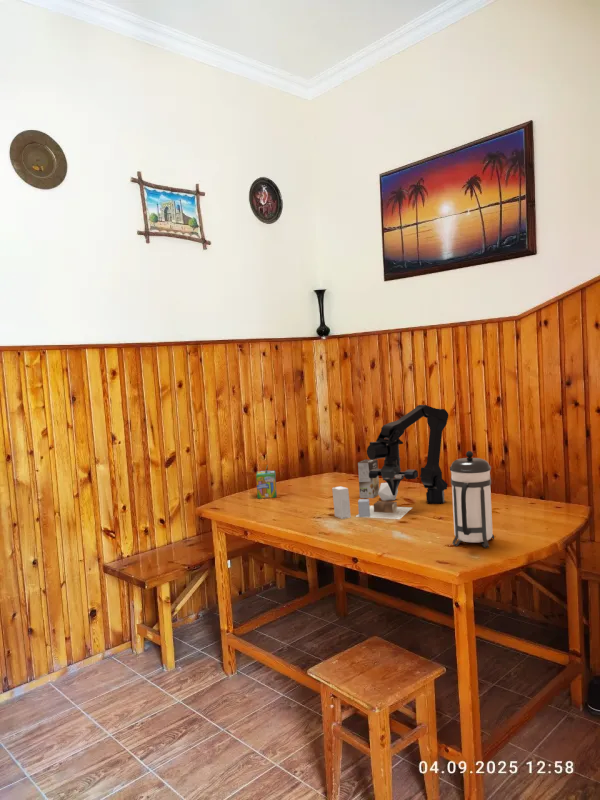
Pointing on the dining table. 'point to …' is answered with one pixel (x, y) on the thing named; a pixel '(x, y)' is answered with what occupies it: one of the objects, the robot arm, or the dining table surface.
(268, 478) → the chalk box
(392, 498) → the die
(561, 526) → the dining table surface
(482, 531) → the coffee press
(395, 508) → the walnut block
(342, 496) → the skincare box
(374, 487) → the coffee box
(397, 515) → the mat
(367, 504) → the blue-grey block
